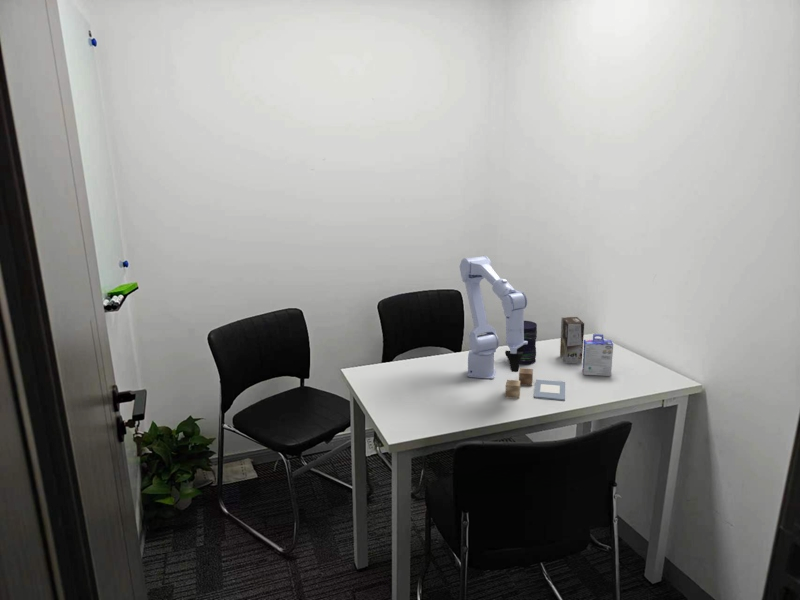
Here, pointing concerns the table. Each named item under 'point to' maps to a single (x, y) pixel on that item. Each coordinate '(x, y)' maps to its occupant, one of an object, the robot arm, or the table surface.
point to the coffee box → (572, 339)
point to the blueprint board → (550, 390)
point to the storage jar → (529, 343)
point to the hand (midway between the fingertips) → (515, 367)
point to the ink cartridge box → (597, 356)
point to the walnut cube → (526, 376)
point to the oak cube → (513, 388)
